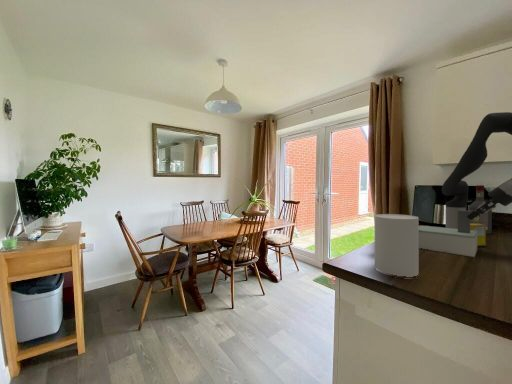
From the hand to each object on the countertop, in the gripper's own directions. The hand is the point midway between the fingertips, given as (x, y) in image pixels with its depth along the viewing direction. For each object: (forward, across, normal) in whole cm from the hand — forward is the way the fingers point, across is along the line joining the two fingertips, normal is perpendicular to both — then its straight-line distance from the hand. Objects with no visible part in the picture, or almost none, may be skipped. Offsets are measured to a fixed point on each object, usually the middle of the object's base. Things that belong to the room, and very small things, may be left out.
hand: (469, 217), depth 101 cm
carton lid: (+12, 0, -1) cm, 12 cm away
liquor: (+11, -59, +12) cm, 61 cm away
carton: (+18, 0, +5) cm, 18 cm away
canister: (+23, +48, 0) cm, 54 cm away
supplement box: (+11, -17, +12) cm, 23 cm away
